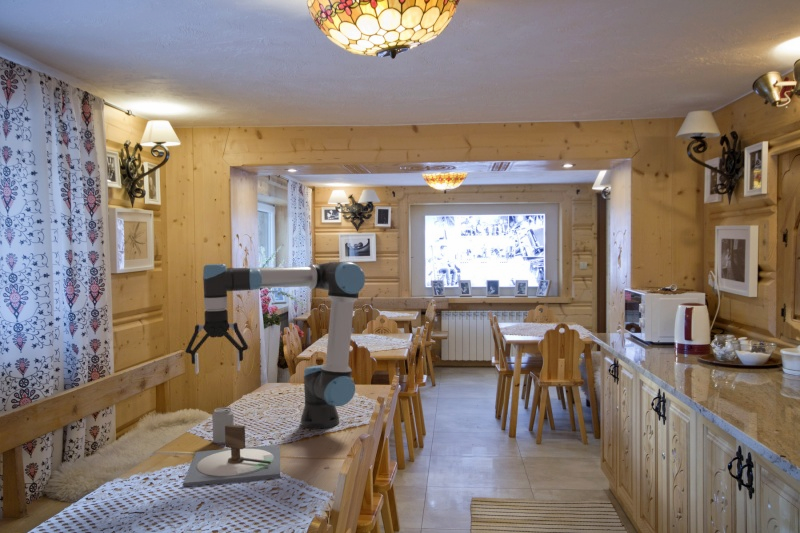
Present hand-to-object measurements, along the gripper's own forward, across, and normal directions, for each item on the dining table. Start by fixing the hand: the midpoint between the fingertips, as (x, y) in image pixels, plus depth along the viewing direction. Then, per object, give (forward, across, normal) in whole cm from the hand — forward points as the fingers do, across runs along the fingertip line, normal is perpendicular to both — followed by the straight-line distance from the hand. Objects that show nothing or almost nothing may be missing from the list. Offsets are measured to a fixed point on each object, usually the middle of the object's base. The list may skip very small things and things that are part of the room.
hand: (218, 372), depth 204 cm
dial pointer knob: (+27, -10, +14) cm, 32 cm away
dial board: (+29, -6, +12) cm, 31 cm away
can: (+29, 0, -15) cm, 33 cm away
